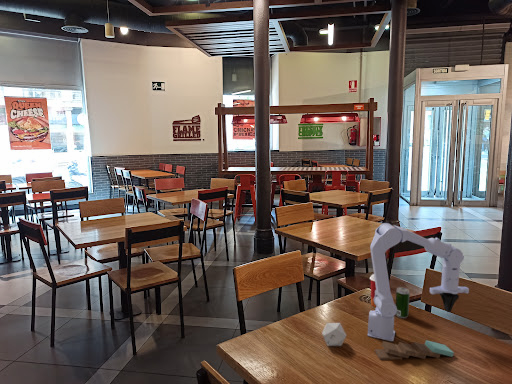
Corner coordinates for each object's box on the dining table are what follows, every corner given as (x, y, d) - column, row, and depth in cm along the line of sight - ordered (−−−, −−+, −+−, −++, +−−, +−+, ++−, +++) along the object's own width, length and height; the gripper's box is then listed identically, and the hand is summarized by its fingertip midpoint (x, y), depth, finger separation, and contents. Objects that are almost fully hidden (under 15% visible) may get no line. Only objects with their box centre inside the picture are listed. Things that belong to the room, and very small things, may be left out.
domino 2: (408, 358, 126) (387, 352, 126) (401, 350, 131) (381, 344, 131) (409, 354, 126) (389, 348, 126) (403, 346, 131) (383, 340, 130)
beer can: (404, 319, 154) (406, 293, 152) (392, 315, 158) (394, 289, 156) (410, 315, 158) (411, 289, 156) (398, 311, 162) (399, 286, 160)
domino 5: (452, 356, 128) (432, 352, 126) (443, 348, 133) (424, 344, 131) (454, 352, 128) (434, 347, 126) (445, 344, 132) (426, 340, 131)
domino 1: (402, 361, 127) (379, 361, 126) (396, 352, 132) (374, 353, 131) (402, 357, 126) (380, 357, 126) (396, 348, 131) (374, 349, 131)
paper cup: (386, 302, 170) (387, 274, 168) (386, 309, 163) (387, 280, 161) (368, 300, 173) (370, 272, 171) (368, 307, 166) (369, 278, 164)
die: (317, 342, 138) (320, 331, 131) (328, 324, 143) (331, 313, 136) (336, 355, 135) (340, 345, 128) (346, 336, 140) (351, 326, 133)
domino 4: (438, 358, 127) (419, 353, 125) (430, 350, 132) (411, 345, 130) (440, 354, 127) (421, 349, 125) (431, 346, 132) (412, 341, 130)
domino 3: (424, 359, 126) (405, 354, 125) (416, 350, 131) (397, 346, 130) (426, 354, 126) (406, 349, 125) (418, 346, 131) (399, 342, 130)
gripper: (437, 281, 134) (435, 316, 136) (475, 280, 135) (472, 314, 137) (427, 274, 141) (425, 307, 143) (463, 273, 142) (460, 306, 143)
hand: (447, 310), depth 140 cm, fingers closed
